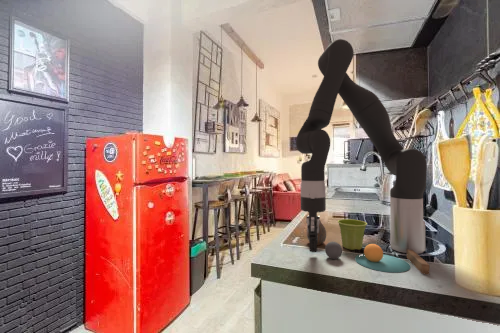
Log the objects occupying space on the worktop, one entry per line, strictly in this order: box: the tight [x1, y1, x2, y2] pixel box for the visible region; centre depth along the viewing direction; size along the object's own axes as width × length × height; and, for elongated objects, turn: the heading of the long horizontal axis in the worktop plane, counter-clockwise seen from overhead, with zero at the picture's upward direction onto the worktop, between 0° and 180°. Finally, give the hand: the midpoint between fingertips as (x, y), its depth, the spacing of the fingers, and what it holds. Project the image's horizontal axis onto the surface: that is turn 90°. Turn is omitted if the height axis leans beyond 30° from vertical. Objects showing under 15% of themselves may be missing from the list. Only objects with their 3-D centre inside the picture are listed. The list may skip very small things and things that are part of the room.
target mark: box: [354, 253, 411, 273], centre depth 72 cm, size 14×14×1 cm
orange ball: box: [363, 243, 384, 262], centre depth 72 cm, size 5×5×5 cm
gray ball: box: [324, 241, 343, 260], centre depth 75 cm, size 5×5×5 cm
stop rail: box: [406, 249, 430, 276], centre depth 69 cm, size 12×2×2 cm, turn 164°
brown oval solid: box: [306, 220, 327, 246], centre depth 90 cm, size 7×7×9 cm
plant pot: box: [337, 218, 368, 251], centre depth 85 cm, size 9×9×9 cm
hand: (313, 251), depth 77 cm, fingers closed
